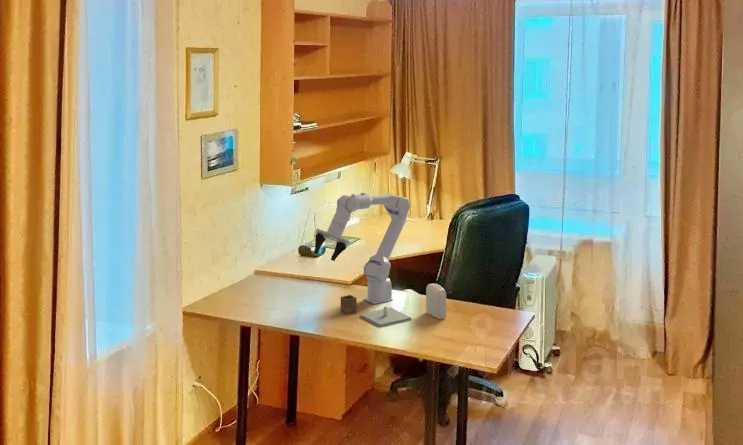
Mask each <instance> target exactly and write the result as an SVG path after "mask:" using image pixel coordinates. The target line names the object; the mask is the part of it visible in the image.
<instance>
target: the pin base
mask: <svg viewBox="0 0 743 445" xmlns="http://www.w3.org/2000/svg"><path fill="white" fill-rule="evenodd" d="M359 316H360V317H361V319H364V320H366V321H368V322H370V323H372V324H373V325H376V326H378V327H379V328H382V327H387V326H391V325H395V324H400V323H404V322H408V321H412V317H411V316H409V315H406V314H405V313H403V312H401V311H399V310H397V309H394V308H393V307H388V306H386V305H385V306H383V308H382V309H379V310H373V311H367V312H363V313H360V315H359Z"/></svg>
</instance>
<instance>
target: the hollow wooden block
mask: <svg viewBox="0 0 743 445" xmlns="http://www.w3.org/2000/svg"><path fill="white" fill-rule="evenodd" d="M357 307H358V306H357V297H356V296H353V295H351V294H348V295H343V296H340V312H341V313H343V314H345V315H347V316H348V315H351V314H355V313H357V310H358V309H357Z"/></svg>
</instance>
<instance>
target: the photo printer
mask: <svg viewBox="0 0 743 445" xmlns="http://www.w3.org/2000/svg"><path fill="white" fill-rule="evenodd" d="M425 290H426V291H425V309H426V310H425V311H426V312H425V313H427V314H428V315H430V316H432V317H434V318H436V319H438V320H444V319H445V318H447V292H446V290H445V289H444V288H443V287H442V286H441V285H440V284H438V283H428V284H427V285H426V289H425Z"/></svg>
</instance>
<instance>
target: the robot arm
mask: <svg viewBox="0 0 743 445" xmlns="http://www.w3.org/2000/svg"><path fill="white" fill-rule="evenodd" d="M372 205H374V206H375V205H376V206H377V205H383V207H384V208H385V210H386V212H387V214H388V215H389V216H390V218H391V220H390V222H389V225H388V227H387V229H386V231H385V233H384V235H383V238H382V240H381V242H380V244H379V246H378V249H377V251H376V253H375V254H373V255H372V256H370V257H369V259H368V261H367V262H366V263H365V264H364V265H363V274H364V275H365V277H366V279H367V296H366V297H363V299H362V300H364V301H366V302H369V303H370V304H372V305H376V304H380V303H381V304H382V303H385V302H390V301H393V300H394V299H393V297H392V295H393V294H392V291H393V289H392V281H391V279H390V278H389V275H390V269H391V268H392V267H391V265H392V264H391V263H390V257H391V254H392V252H393V250H394V248H395V246H396V244H397V241H398V240H399V238H400V235H401V232H402V230H403V229H404V226H405V224H406V220H407V216H408V215H407V214H408V213H409V210H410V208H411V204H410V200H409V199H408V198H407V197H405V196H399V195H394V194H391V193H383V194H378V195H372V196H370V195H369V194H368V193H365V192H360V194H354V193H351V195H347V194H343V195H341V196H340V197H339V198H337V201H336V209H335V213H334V215H333V216H332V217H333V218H332V219H331V222H330V225H329V227H328V229H327V231H325V230H323V229H320V228H316V230H315V231H314V233H315V237H314V238H315V244H314V245H315V246H314V252H313V253H314V254H315V255H318V254H319V252H320V250H321V248H322V246H323V244H324V242H325V241H326V239H329V240H332V241H334V242H336V244H335V247H334V248H335V249H334V251H333V253H332V254H331V258H330V260H331V261H333V262H335V261H336V259H337V258H338V257H339V255H340V254H342V253H343V252H344V251H345V250H346V249H347V247H349V246H350V245H351V241H350V240H348V239H346V238H344V237H342V235H343V233H344V231H345V229H346V226H347V224H348V221H349V220H350V217H351V215H352V213H355V211H358V210H364V209H365V210H366V209H369V208H370V207H371V206H372Z"/></svg>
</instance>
